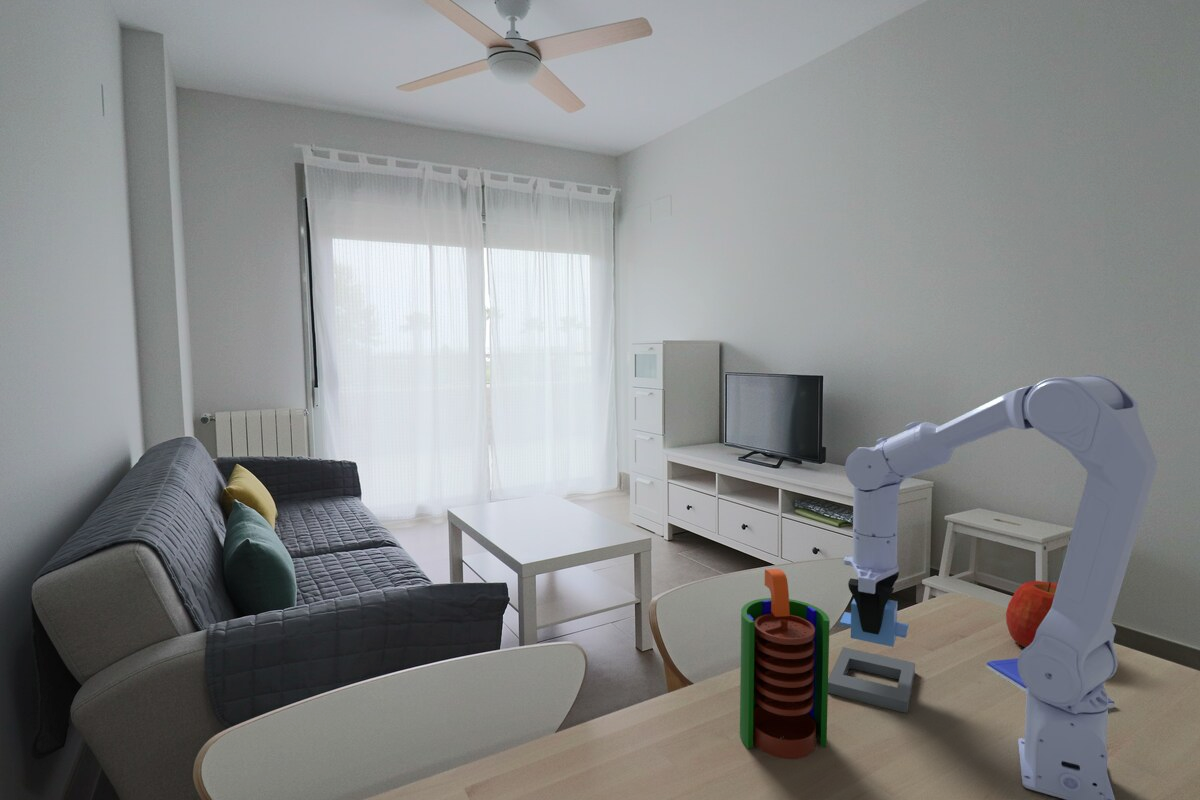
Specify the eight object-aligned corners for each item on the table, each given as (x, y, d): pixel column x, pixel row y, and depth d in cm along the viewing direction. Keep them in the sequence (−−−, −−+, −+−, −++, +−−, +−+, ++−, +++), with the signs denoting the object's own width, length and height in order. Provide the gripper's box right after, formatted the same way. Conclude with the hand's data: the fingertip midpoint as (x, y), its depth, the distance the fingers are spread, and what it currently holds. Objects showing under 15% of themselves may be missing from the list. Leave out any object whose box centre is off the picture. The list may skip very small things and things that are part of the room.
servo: (905, 649, 84) (906, 607, 84) (839, 635, 89) (840, 596, 88) (908, 637, 88) (909, 597, 87) (844, 625, 92) (845, 586, 92)
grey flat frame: (906, 713, 81) (907, 702, 81) (826, 692, 86) (826, 682, 86) (914, 672, 91) (915, 662, 91) (842, 656, 96) (842, 647, 96)
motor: (761, 766, 71) (762, 595, 70) (725, 722, 80) (725, 569, 78) (838, 750, 74) (840, 585, 72) (795, 709, 82) (796, 561, 81)
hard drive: (1115, 700, 82) (1033, 655, 94) (1062, 706, 80) (986, 660, 92) (1114, 711, 82) (1033, 666, 94) (1061, 718, 80) (986, 671, 93)
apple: (1040, 666, 93) (1043, 596, 92) (988, 634, 104) (990, 571, 103) (1106, 662, 94) (1110, 593, 93) (1048, 630, 105) (1051, 568, 104)
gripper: (853, 516, 95) (851, 602, 96) (834, 541, 83) (833, 639, 84) (904, 522, 92) (902, 611, 93) (892, 549, 79) (890, 652, 80)
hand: (873, 626), depth 88 cm, fingers closed on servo, 4 cm apart
